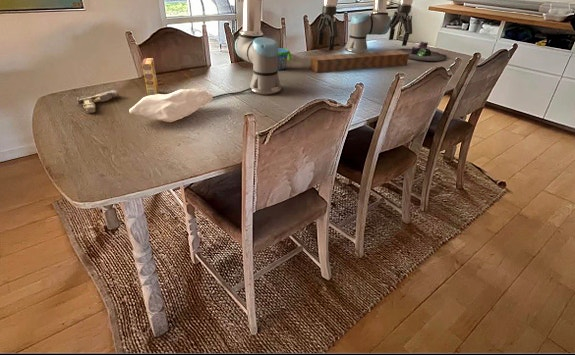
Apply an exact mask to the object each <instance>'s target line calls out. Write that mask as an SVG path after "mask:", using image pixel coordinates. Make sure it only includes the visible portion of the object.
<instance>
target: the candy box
mask: <svg viewBox="0 0 575 355" xmlns="http://www.w3.org/2000/svg"><path fill="white" fill-rule="evenodd" d="M141 66H142V73H143V78H144V82H145V87H146V92H147V96H150V95H156V94H159V91H160V90H159V84H158V79H157V73H156V66H155V62H154V58H153V57H151V58H150V57H149V58H146V57H145V58H143V60H142V63H141Z"/></svg>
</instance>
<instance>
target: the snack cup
mask: <svg viewBox="0 0 575 355" xmlns="http://www.w3.org/2000/svg"><path fill="white" fill-rule="evenodd" d="M278 50H279V52H278V71H279V70H280V71H281V70H284V69H286V67H287V62H288V61H289V62H290V61H291V60H292V56H291V51H290V50H289V49H287V48H284V47H283V48H282V47H278Z"/></svg>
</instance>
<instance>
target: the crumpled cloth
mask: <svg viewBox="0 0 575 355" xmlns="http://www.w3.org/2000/svg"><path fill="white" fill-rule="evenodd" d="M213 97H214V96H213V94H212V93H210V92H208V91H206V90H203V89H201V88H187V89H186V88H185V89H184V88H183V89H177V90H175V91H173V92H171V93H167V94H163V93H158V94H156V95H150V96H148V95H146V96H144V97H142V98H141V99H140V100H139V101H138V102H137V103H136V104H134V105H133V106H132V107H131V108H129V114H130V115H135V116H140V117H145V118H146V119H149V120H152V121H155V120H158V121H163V122H166V123H174V122H176V121H178V120H181V119H183V118H185V117H188V116H190V115H192V114H193V113H195V112H196V111H197V110H199V109H200V108H202V107H204V106H206V105H207V104H210V102H211V101H212V100H213V99H214V98H213ZM212 98H213V99H212Z"/></svg>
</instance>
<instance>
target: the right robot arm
mask: <svg viewBox="0 0 575 355" xmlns="http://www.w3.org/2000/svg"><path fill="white" fill-rule="evenodd" d="M387 1H388V0H373V2H372V3H373V5H372V11H371V12H370V14H369V13H368V12H367V13H366V12H365V13H364V12H361V13H356V14H353V15H352V16H351V19H350V27H349V36H348V40H347V42H346V44H344V43H342V42H341V43H339V45H340V46H343V47H344V50H345V51H346V52H349V53H368V43H367V37H368V35H370V36H371V35H373V36H374V35H376V36H377V35H378V36H380V35H386V34H387V33H388V32H389V36H388V41H393V40H394V38H395V32H396V26H397V25H398V24H399V23H402V25H403V30H404V34H403V38H402V43H401V46H402V47H407V44H408V41H409V37H410V35H412V34H413V21H412V20H413V15H409V14H410V13H411V12H412V11H411V10H412V5H413V1H414V0H398V4H397V9H396V10H395V11H394V13H393V16H392V17H391V16H390V15H389V12H388V11H387V5H388V4H387Z"/></svg>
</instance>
